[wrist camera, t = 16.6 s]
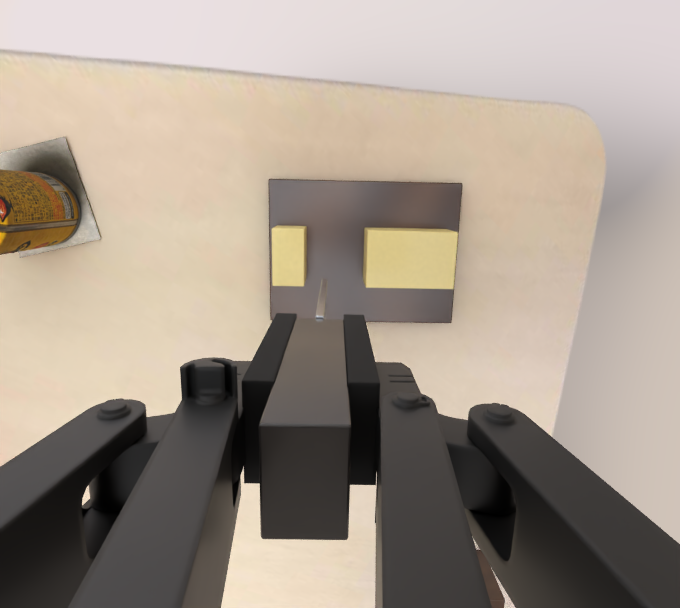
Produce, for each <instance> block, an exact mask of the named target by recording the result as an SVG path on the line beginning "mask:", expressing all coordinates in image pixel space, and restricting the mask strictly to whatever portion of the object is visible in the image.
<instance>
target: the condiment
mask: <svg viewBox="0 0 680 608" xmlns="http://www.w3.org/2000/svg"><path fill="white" fill-rule="evenodd" d="M98 239H101V238H100V235H99V232H98V229H97V226H96V223H95V220H94V217H93V214H92V211H91V208H90V205H89V202H88V200H87V196H86V194H85V191H84V189H83V186H82V184H81V181H80V179H79V175H78V172H77V169H76V166H75V163H74V160H73V158H72V155H71V153H70V151H69V148H68V144H67V142H66V139H65V137H61V138H57V139H54V140H50V141H46V142H42V143H38V144H34V145H31V146H26V147H22V148H18V149H14V150H9V151H5V152H1V153H0V255H1V254H7V253H14V252H17V251H18V252H19V257H20V258H21V257H25V256H29V255H34V254H38V253H42V252H47V251H51V250H55V249H60V248H64V247H68V246H72V245H77V244H81V243H85V242H89V241H94V240H98Z"/></svg>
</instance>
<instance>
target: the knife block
mask: <svg viewBox="0 0 680 608" xmlns="http://www.w3.org/2000/svg"><path fill="white" fill-rule="evenodd" d="M476 552H477V556H478V559H479V563H480V566H481V570H482V574H483V577H484V581H485V584H486V588H487V592H488V595H489V599H490V602H491V606H492V608H504V603H505V599H504V597H503V595H502V592H501V590H500V588H499V585H498V583H497V581H496V578H495V576H494V574H493V571H492V569H491V567H490V564H489V563H488V561H487V559H486V558H485V556H484V554H483V553H482V551H481V550H476Z"/></svg>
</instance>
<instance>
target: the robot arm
mask: <svg viewBox="0 0 680 608" xmlns="http://www.w3.org/2000/svg"><path fill="white" fill-rule="evenodd" d="M295 319H297V314H296V313H276V315H275V317H274V319H273V321H272V323H271V325H270V327H269V329H268V331H267V333H266V335H265V337H264V339H263V340H262V342H261V344H260V346H259V348H258V350H257V352H256V354H255V356H254V358H253V360H252V361H232V360H229V359H225V358H202V359H198V360H193V361H190V362H188V363H185V364H184V365H183V366H181V367H180V372H181V389H182V401H181V403H180V405H179V406H178V408H177V410H176V412H175V413H172V414H167V415H160V416H153V417H146V407H145V404H143V403H142V402H140V401H136V400H124V399H116V400H114V399H113V400H108V401H106V402H105V403H102V404H98V405H96V406H94V407H92V408H90V409H88V410H86V411H85V412H83V413H82V414H80V415H79V416H77V417H76V418H74V419H72V420H71V421H69V422H68V423H66V424H65V425H63V426H62V427H60V428H59V429H57V430H56V431H54V432H53V433H51V434H50V435H48V436H47V437H45V438H44V439H42V440H41V441H39V442H37V443H36V444H34V445H33V446H31V447H30V448H28V449H27V450H25V451H24V452H22V453H21V454H19V455H18V456H16V457H15V458H13V459H12V460H10V461H9V462H7V463H6V464H4V465H2V466H1V467H0V608H221V603H222V597H223V592H224V586H225V581H226V575H227V569H228V564H229V558H230V552H231V547H232V541H233V535H234V530H235V524H236V518H237V513H238V507H239V501H240V496H241V483H240V475H241V472H242V469H243V466H244V483H260V466H259V423H260V420H261V417H262V415H263V412H264V409H265V406H266V403H267V400H268V397H269V394H270V391H271V388H272V385H273V384H274V381H275V379H276V376H277V373H278V370H279V367H280V364H281V361H282V358H283V355H284V352H285V349H286V346H287V343H288V340H289V337H290V334H291V331H292V328H293V325H294V322H295ZM344 328H345V343H346V359H347V374H348V387H349V398H350V413H351V460H350V485H376V471H377V489H376V511H375V523H376V592H375V608H492V606H491V602H490V599H489V595H488V592H487V588H486V584H485V581H484V577H483V574H482V570H481V566H480V563H479V559H478V556H477V552H476V548H475V545H474V541H473V538H474V540H475V541H476V543H477V545H478V546H479V548H480V550H481V551H482V553H483V554H484V556H485V558H486V559H487V561H488V563H489V564H490V566H491V568H492V569H493V571H494V573H495V574H496V576H497V577H498V579H499V581H500V582H501V584H502V586H503V587H504V589H505V591H506V592H507V594H508V596H509V597H510V599H511V600H512V602H513V604H514V605H515V607H516V608H680V544H679V543H677V542H676V541H675V540H674V539H673V538H672V537H670V536H669V535H668V534H667V533H666V532H664V531H663V530H662V529H661V528H659V527H658V526H657V525H656V524H655V523H654V522H652V521H651V520H650V519H649V518H648V517H647V516H645V515H644V514H643V513H642V512H640V511H639V510H638V509H637V508H636V507H635V506H633V505H632V504H631V503H630V502H628V501H627V500H626V499H625V498H624V497H623V496H621V495H620V494H619V493H618V492H617V491H615V490H614V489H613V488H612V487H611V486H609V485H608V484H607V483H606V482H604V480H602V479H601V478H600V477H599V476H597V475H596V474H595V473H594V472H593V471H591V470H590V469H589V468H588V467H587V466H586V465H584V464H583V463H582V462H581V461H580V460H579V459H577V458H576V457H575V456H574V455H572V454H571V453H570V452H569V451H568V450H567V449H565V448H564V447H563V446H562V445H561V444H559V443H558V442H557V441H556V440H555V439H553V438H552V437H551V436H550V435H549V434H548V433H546V432H545V431H544V430H543V429H542V428H540V427H539V426H538V425H537V424H536V423H534V422H533V421H532V420H531V419H530V418H528V417H527V416H526V415H525V414H523V413H521V412H520V411H518V410H516V409H513V408H510V407H509V406H507V405H503V404H501V405H500V404H498V403H492V404H481V405H476V406H474V407H472V408H470V411H469V416H468V420H463V419H457V418H452V417H448V416H444V415H441V414H438V412H437V409H436V405H435V403H434V401H433V400H432V399H431V398H429V397H428V396H426V395H423V394H421V393H420V390H419V388H418V386H417V384H416V381H415V379H414V377H413V374H412V372H411V370H410V368H408V367H407V366H405V365H404V364H402V363H386V362H375V359H374V355H373V351H372V347H371V343H370V338H369V334H368V330H367V326H366V322H365V318H364V315H348V314H344ZM88 485H89V491H90V499H89V500H88V501H87V502H86V503H85V504H84V505H83V506H82V498H83V495H84V492H85V490H86V487H87V486H88ZM472 536H473V538H472Z"/></svg>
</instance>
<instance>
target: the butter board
mask: <svg viewBox="0 0 680 608" xmlns="http://www.w3.org/2000/svg"><path fill="white" fill-rule="evenodd" d="M461 195H462V183H424V182H379V181H335V180H290V179H269V246H270V316H271V320H273V319H274V317H275V315H276V313H296V314H297V319H315V316H316V311H317V305H318V299H319V293H320V288H321V282H322V279H328V285H327V319H343V320H344V314H348V315H364V318H365V322H414V323H451V320H452V307H453V295H454V289H410V288H366V286H365V284H364V281H363V259H364V228H365V227H371V228H420V229H448V230H452V231H456V232H459V220H460V207H461ZM277 225H282V226H307V274H306V281H305V285H304V286H272V228H273V227H275V226H277ZM457 245H458V241H457ZM456 257H457V254H456ZM455 270H456V266H455ZM454 282H455V279H454Z"/></svg>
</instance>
